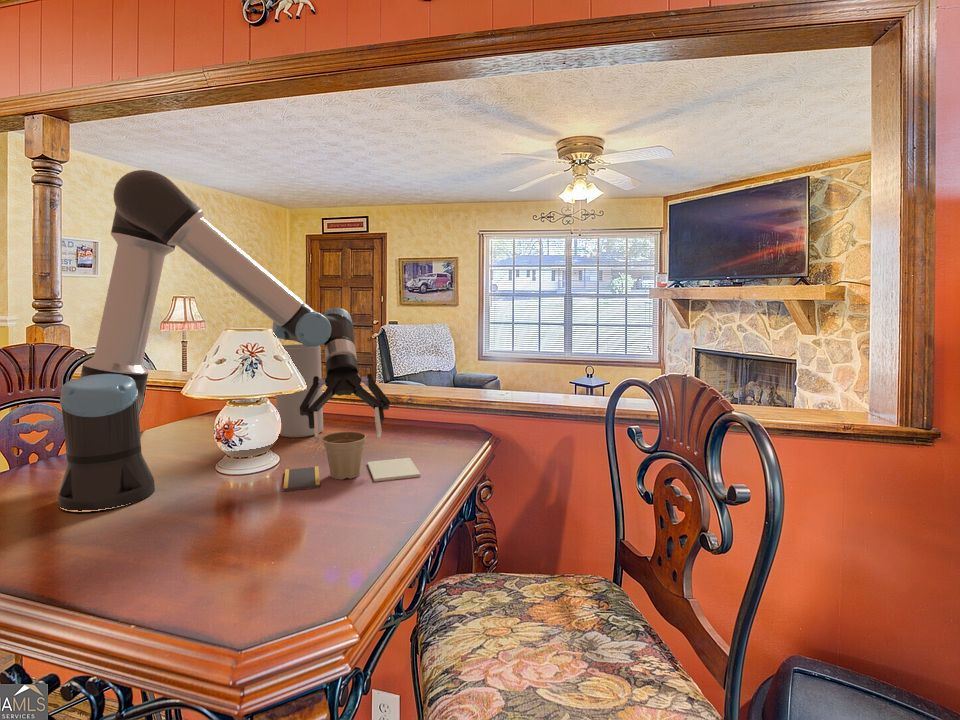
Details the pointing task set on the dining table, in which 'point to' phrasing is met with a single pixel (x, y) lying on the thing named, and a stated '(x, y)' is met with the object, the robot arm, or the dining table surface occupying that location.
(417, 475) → the pad
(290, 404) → the cylinder vase
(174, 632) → the dining table surface
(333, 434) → the flower pot
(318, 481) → the trap mat
